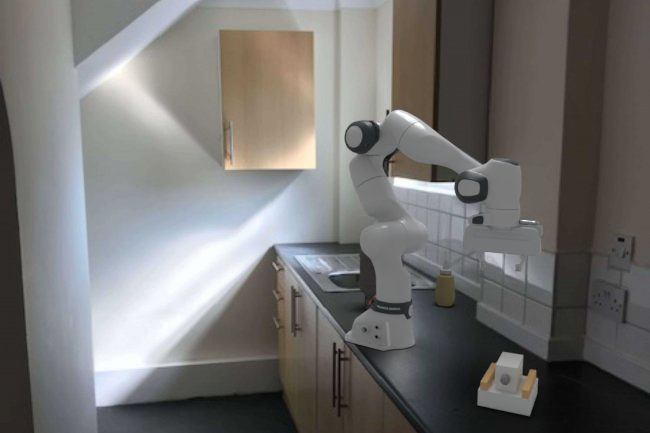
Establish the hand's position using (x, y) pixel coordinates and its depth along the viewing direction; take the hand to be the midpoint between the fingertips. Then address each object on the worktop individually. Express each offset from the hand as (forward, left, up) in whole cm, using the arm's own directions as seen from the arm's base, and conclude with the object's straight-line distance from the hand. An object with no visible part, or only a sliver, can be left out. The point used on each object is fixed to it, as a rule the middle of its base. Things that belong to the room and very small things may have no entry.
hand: (500, 269), depth 154 cm
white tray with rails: (+6, -16, -29) cm, 34 cm away
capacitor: (-53, +43, -29) cm, 74 cm away
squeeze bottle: (-31, +61, -29) cm, 74 cm away
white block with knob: (+6, -16, -25) cm, 30 cm away
